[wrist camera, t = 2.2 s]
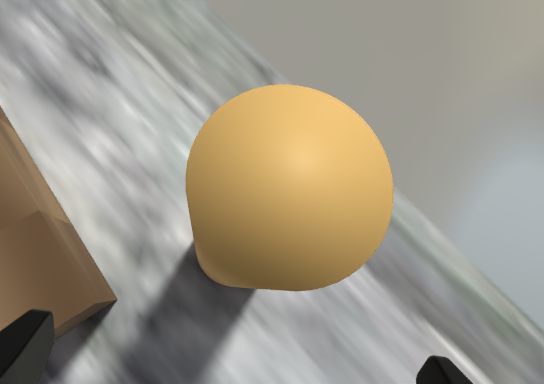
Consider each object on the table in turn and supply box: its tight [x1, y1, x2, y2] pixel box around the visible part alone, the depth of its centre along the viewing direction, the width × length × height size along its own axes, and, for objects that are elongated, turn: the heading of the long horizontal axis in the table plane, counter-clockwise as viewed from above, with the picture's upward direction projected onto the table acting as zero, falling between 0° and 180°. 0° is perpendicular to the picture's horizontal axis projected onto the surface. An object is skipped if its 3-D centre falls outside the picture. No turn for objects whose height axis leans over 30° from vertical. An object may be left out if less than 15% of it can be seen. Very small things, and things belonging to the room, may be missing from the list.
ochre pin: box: [186, 85, 393, 291], centre depth 13 cm, size 4×4×13 cm
